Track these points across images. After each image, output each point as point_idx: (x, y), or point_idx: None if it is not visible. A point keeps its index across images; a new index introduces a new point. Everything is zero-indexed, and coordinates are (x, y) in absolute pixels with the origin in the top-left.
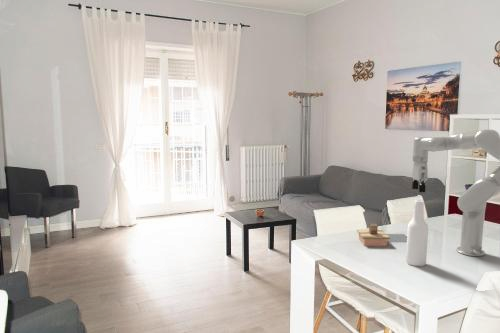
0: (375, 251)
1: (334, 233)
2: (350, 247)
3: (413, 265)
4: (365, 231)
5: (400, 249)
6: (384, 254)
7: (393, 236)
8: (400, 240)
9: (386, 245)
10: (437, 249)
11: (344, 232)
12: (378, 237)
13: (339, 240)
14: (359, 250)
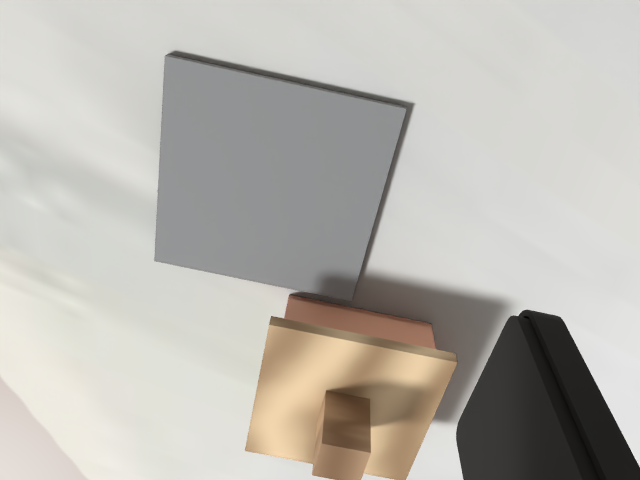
0: None
1: (131, 449)
2: None
3: None
4: (286, 426)
5: (498, 274)
6: None
7: (231, 182)
8: (338, 187)
9: (431, 333)
10: (602, 6)
11: (108, 402)
12: (432, 418)
13: (264, 473)
14: (443, 460)
